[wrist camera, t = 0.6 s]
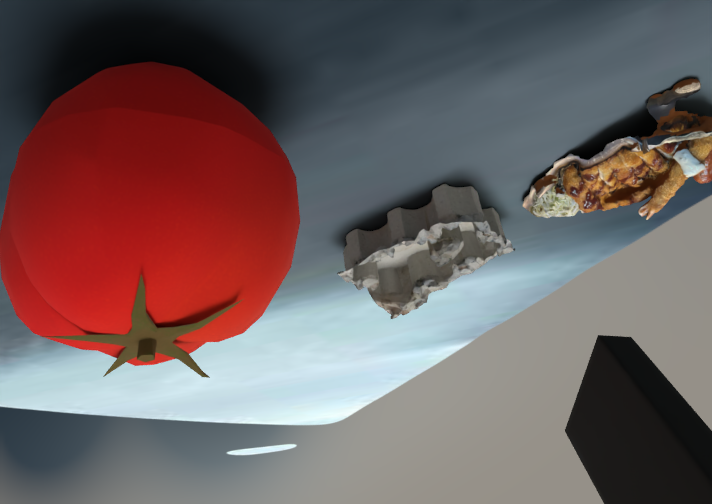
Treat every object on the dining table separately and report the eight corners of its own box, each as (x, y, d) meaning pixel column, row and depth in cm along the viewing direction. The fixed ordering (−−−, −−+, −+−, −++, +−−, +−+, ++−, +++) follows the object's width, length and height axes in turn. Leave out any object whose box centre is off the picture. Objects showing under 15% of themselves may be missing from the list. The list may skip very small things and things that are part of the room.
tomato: (-35, 22, 23) (-151, 315, 16) (268, -15, 23) (285, 258, 16) (92, 197, 33) (54, 427, 26) (304, 170, 33) (325, 391, 26)
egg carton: (380, 276, 45) (387, 323, 42) (324, 235, 39) (329, 288, 37) (509, 222, 40) (525, 273, 38) (467, 168, 35) (483, 223, 33)
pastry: (505, 192, 37) (520, 237, 35) (690, 70, 30) (721, 119, 28) (563, 225, 41) (579, 267, 40) (737, 125, 34) (767, 170, 32)
